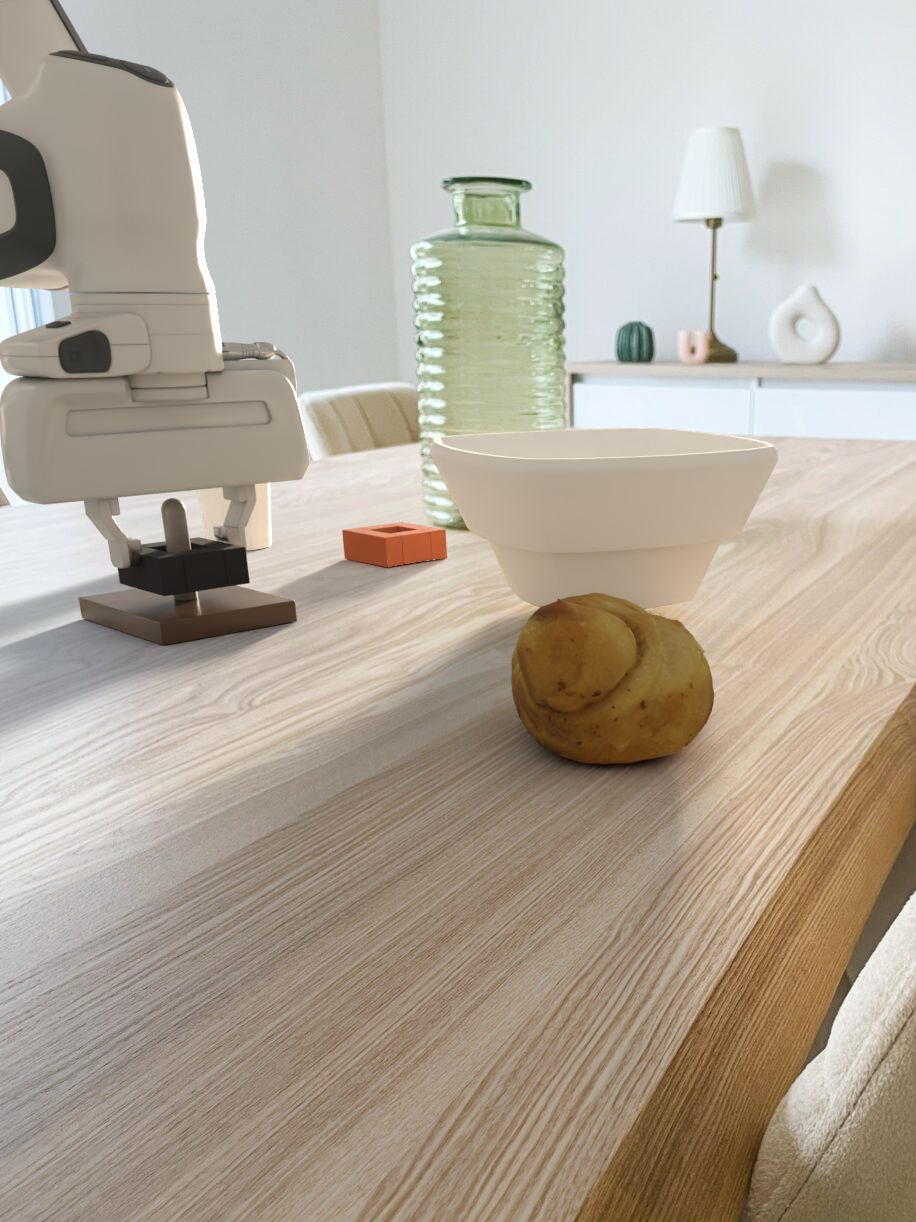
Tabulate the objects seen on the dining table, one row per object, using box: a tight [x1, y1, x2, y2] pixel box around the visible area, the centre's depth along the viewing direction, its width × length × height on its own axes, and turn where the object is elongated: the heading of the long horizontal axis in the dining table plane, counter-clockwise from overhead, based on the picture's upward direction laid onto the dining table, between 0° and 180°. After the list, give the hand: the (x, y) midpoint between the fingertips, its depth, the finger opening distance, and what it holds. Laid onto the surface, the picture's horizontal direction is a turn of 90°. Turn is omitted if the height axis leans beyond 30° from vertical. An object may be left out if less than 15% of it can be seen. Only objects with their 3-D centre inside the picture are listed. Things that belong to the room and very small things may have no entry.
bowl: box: [429, 427, 779, 610], centre depth 93 cm, size 22×22×12 cm
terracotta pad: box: [341, 521, 448, 568], centre depth 114 cm, size 6×6×2 cm
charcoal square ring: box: [117, 536, 251, 596], centre depth 90 cm, size 6×6×2 cm
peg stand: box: [78, 497, 298, 646], centre depth 90 cm, size 12×10×8 cm
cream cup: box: [194, 483, 272, 551], centre depth 119 cm, size 7×7×7 cm
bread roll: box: [510, 593, 715, 765], centre depth 64 cm, size 13×10×8 cm
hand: (180, 559), depth 90 cm, fingers closed on charcoal square ring, 6 cm apart
